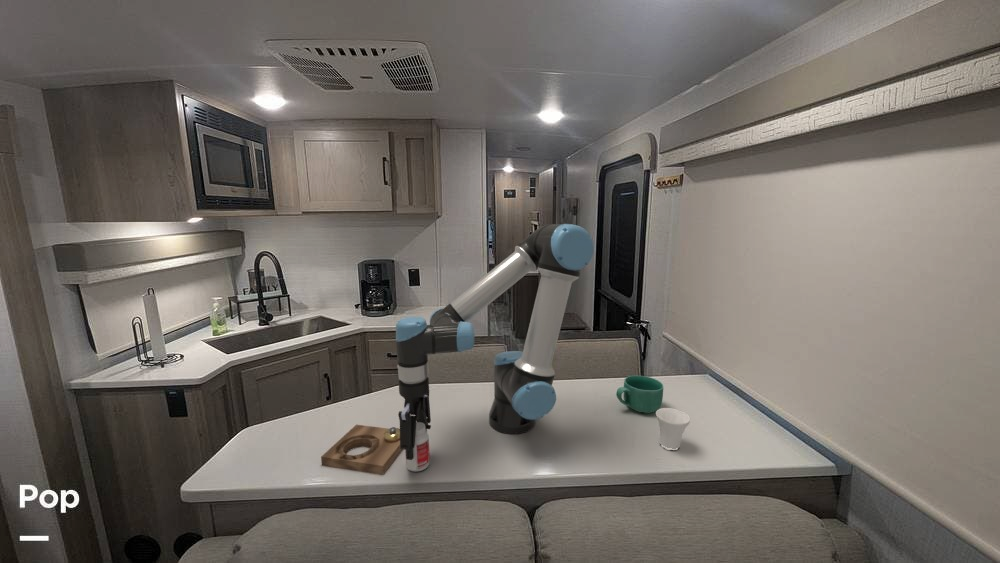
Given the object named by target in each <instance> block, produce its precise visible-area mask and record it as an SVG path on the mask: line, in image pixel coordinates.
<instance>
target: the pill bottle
mask: <svg viewBox="0 0 1000 563" xmlns="http://www.w3.org/2000/svg"><path fill="white" fill-rule="evenodd" d="M425 430H426V429H425V424H424V423H421V422H417V423H416V435H415V445H417V464H418V468H417V470H412V469H408V471H410V472H421V471H423V470H425V469H426V468H428V467H429V466H430V460H431V459H430V455H431V454H430V438H429V432H428V431H427V432H426V431H425ZM405 454H406V450H405Z"/></svg>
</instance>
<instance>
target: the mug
mask: <svg viewBox="0 0 1000 563" xmlns="http://www.w3.org/2000/svg"><path fill="white" fill-rule="evenodd" d="M615 394H616V398H617V399H618V401H619V402H620V403H621V404H623V405H624V406H628V408H631V410H633V409H634V410H633V411H635V410H636V411H635V412H637V411H639V412H638V413H640V412H644V413H643V414H651V413H654V412H655V413H656V411H657V410H658V409H661V408H662V403H663V399H664V398H663V397H664V384H663V382H662V381H660V380H658V379H656V378H653V377H650V376H644V375H629V376H626V377H625V378H624V381H623V386H621V387H618V389H617V390H616V393H615ZM622 395H623V398H622Z"/></svg>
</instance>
